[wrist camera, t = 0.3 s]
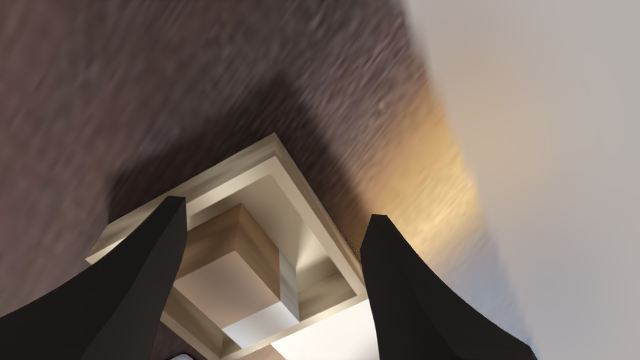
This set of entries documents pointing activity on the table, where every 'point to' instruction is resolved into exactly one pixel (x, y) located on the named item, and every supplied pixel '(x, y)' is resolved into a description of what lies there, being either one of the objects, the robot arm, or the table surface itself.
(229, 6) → the table surface
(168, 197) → the robot arm
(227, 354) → the birch crate
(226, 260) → the walnut block
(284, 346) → the ceramic trivet
